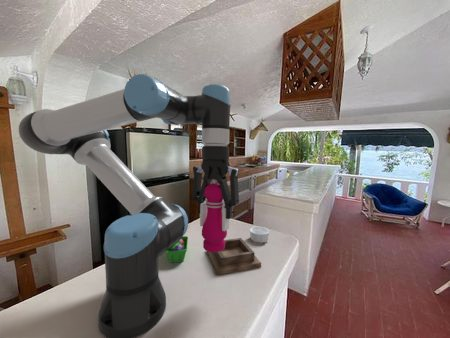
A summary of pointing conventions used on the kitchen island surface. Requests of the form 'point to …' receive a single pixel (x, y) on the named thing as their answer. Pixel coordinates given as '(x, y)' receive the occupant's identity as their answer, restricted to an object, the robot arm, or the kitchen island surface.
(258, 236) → the ramekin
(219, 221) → the pepper mill
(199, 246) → the kitchen island surface
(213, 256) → the walnut stand
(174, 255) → the fruit basket
